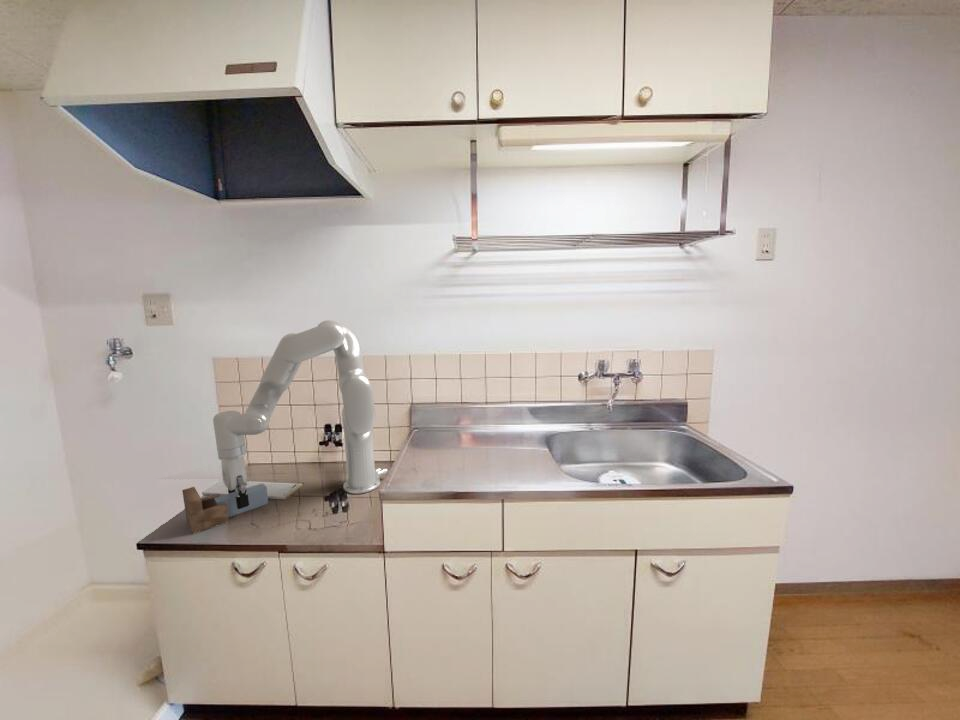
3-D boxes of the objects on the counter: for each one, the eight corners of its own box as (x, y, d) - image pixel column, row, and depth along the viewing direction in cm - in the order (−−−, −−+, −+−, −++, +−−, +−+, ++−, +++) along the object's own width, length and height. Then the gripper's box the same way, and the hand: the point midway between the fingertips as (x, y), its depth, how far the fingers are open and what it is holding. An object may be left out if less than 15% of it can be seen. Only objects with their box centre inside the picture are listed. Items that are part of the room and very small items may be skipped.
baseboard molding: (228, 480, 152) (202, 496, 140) (227, 473, 151) (201, 488, 140) (305, 484, 148) (285, 501, 136) (304, 477, 147) (284, 493, 136)
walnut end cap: (220, 509, 130) (216, 480, 129) (228, 521, 123) (224, 491, 121) (186, 520, 124) (182, 490, 123) (193, 534, 117) (188, 502, 115)
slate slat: (216, 515, 127) (213, 498, 126) (264, 499, 136) (262, 483, 135) (219, 520, 124) (216, 502, 123) (268, 504, 134) (266, 487, 133)
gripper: (211, 447, 130) (218, 496, 133) (225, 462, 117) (232, 516, 120) (238, 440, 135) (244, 488, 138) (253, 454, 123) (260, 507, 125)
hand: (239, 501), depth 129 cm, fingers open, 9 cm apart
